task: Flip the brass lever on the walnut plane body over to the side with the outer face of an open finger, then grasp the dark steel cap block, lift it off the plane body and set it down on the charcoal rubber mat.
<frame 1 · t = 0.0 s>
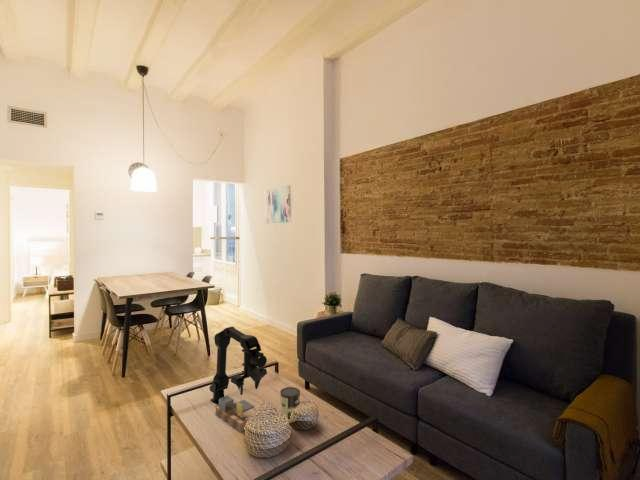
hand: (249, 391, 176), 15 cm above the table, fingers open, 9 cm apart
cap block: (226, 408, 179), point 4 cm above the table, touching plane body
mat: (241, 406, 189), on the table
coffee can: (289, 418, 179), on the table
lever: (239, 410, 171), point 8 cm above the table, hinge at 0.0°
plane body: (232, 420, 175), on the table
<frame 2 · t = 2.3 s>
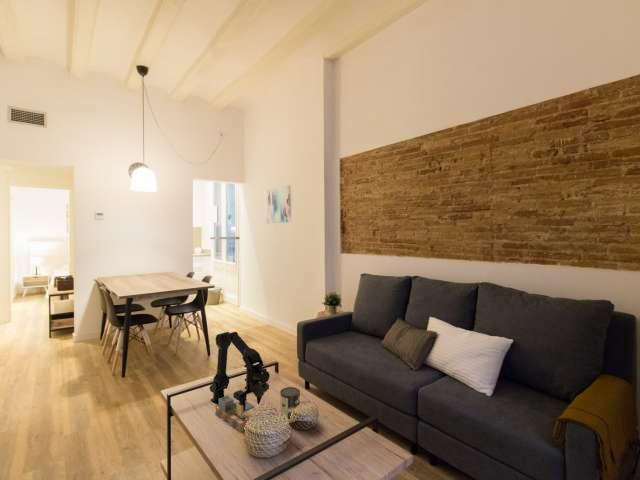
hand: (251, 407, 176), 7 cm above the table, fingers open, 9 cm apart
lever: (239, 410, 171), point 8 cm above the table, hinge at 0.2°, touching gripper
everything else where it was.
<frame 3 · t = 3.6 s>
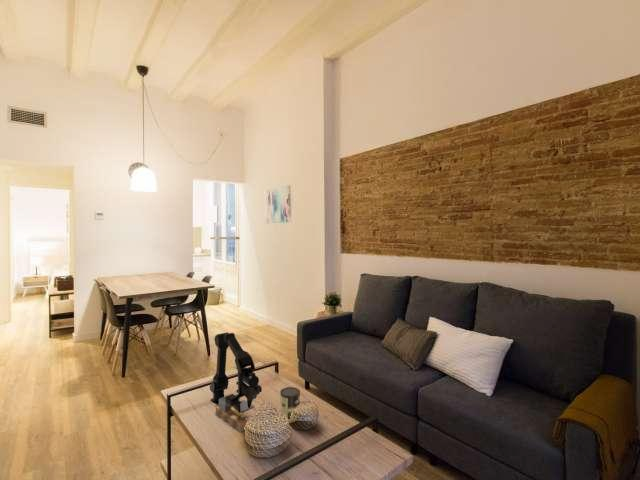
hand: (244, 410, 173), 6 cm above the table, fingers open, 6 cm apart
lever: (236, 412, 170), point 7 cm above the table, hinge at 39.9°, touching gripper
everything else where it was.
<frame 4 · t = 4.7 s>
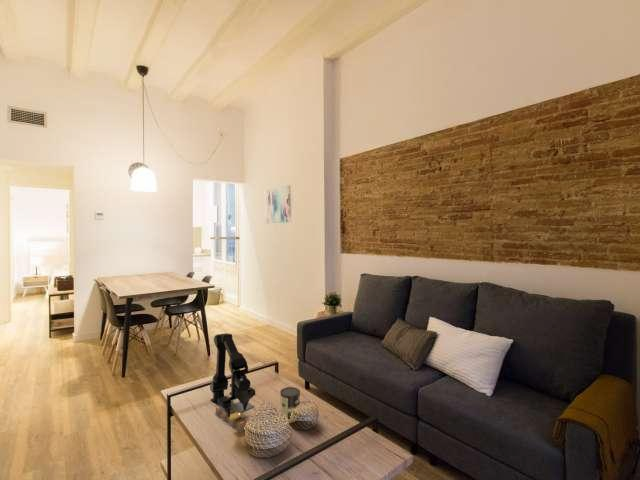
hand: (236, 413, 170), 7 cm above the table, fingers open, 9 cm apart
lever: (235, 416, 169), point 6 cm above the table, hinge at 81.8°
everything else where it was.
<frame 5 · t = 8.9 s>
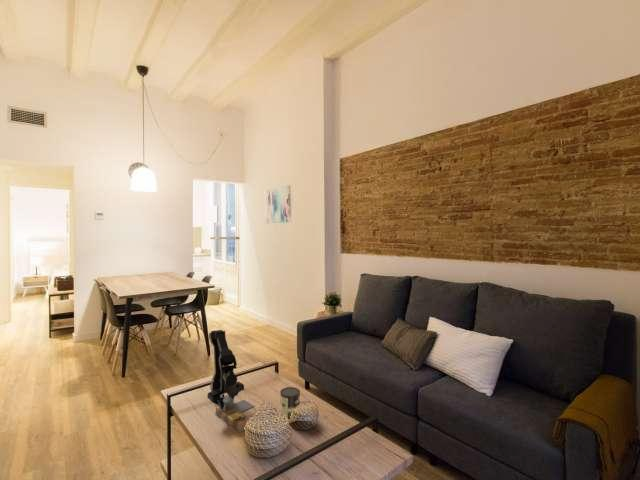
hand: (226, 407, 179), 5 cm above the table, fingers closed on cap block, 5 cm apart
cap block: (226, 408, 179), point 4 cm above the table, touching gripper, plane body
everything else where it was.
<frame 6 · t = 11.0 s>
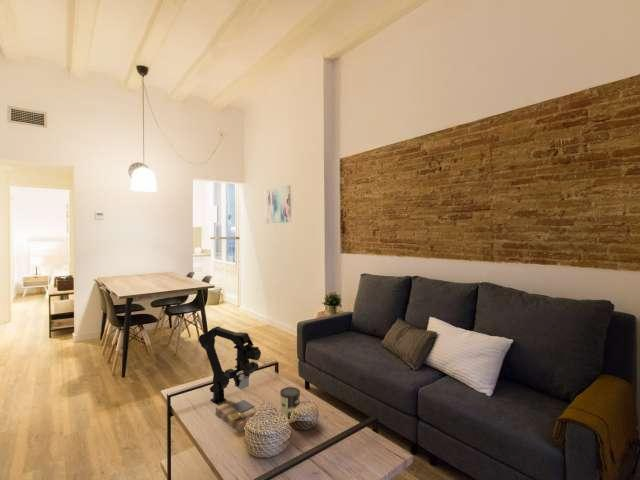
hand: (241, 384, 188), 12 cm above the table, fingers closed on cap block, 5 cm apart
cap block: (241, 386, 188), point 12 cm above the table, touching gripper
everything else where it was.
when the fingers open (3 cm above the table, at t = 13.4 s): cap block drops 2 cm, resting on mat.
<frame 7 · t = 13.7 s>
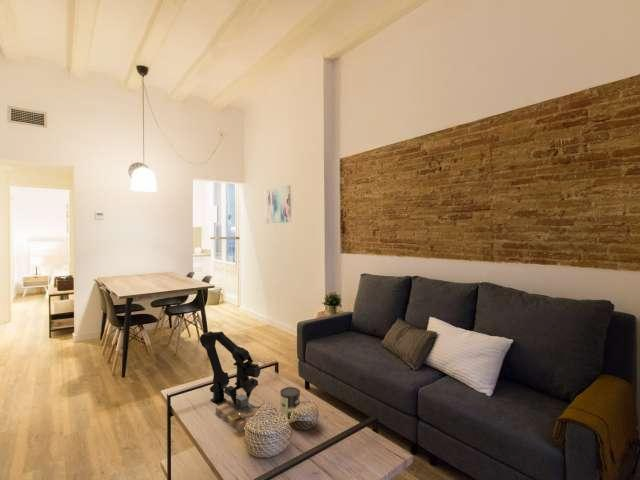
hand: (241, 401, 189), 3 cm above the table, fingers open, 8 cm apart
cap block: (241, 406, 189), resting on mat
everything else where it was.
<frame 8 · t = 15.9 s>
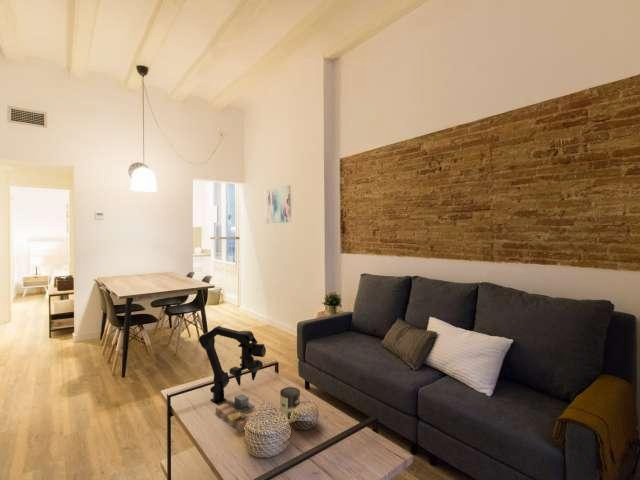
hand: (246, 382, 191), 12 cm above the table, fingers open, 9 cm apart
nothing on the table moved.
at the end: lever at +82° (first picture: +0°); cap block inside the target area on the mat (0.0 cm from its centre), point 0.4 cm above the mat's base; cap block tilted 0° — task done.
